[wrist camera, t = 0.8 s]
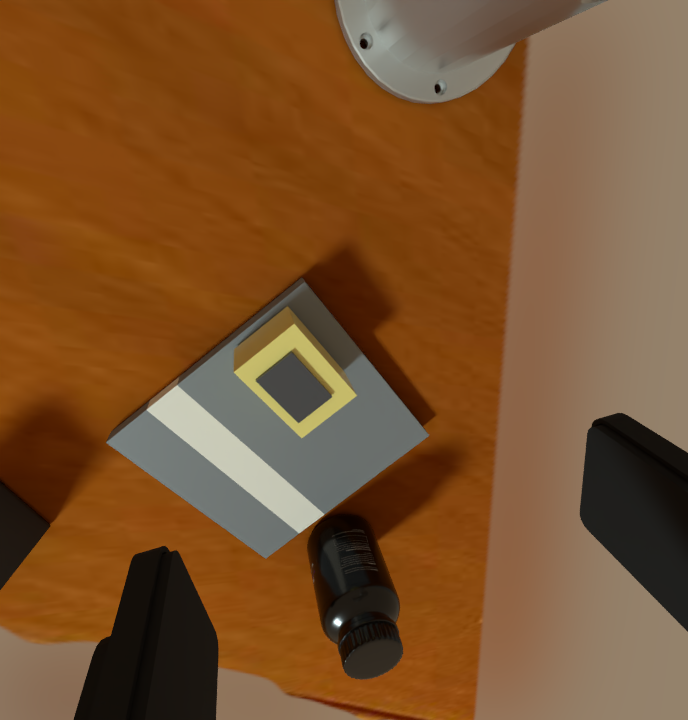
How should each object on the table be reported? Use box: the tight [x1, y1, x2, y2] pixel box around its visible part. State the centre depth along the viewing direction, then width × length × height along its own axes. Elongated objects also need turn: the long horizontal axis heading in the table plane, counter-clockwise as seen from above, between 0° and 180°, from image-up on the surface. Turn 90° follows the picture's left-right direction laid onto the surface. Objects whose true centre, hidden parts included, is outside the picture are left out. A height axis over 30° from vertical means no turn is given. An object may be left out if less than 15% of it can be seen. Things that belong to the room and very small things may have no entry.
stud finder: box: [234, 306, 357, 438], centre depth 31 cm, size 5×7×4 cm
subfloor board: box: [106, 278, 429, 558], centre depth 36 cm, size 19×18×2 cm
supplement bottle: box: [307, 514, 403, 679], centre depth 38 cm, size 7×7×12 cm
